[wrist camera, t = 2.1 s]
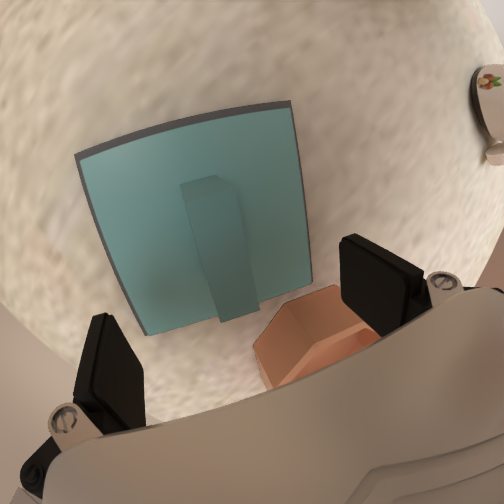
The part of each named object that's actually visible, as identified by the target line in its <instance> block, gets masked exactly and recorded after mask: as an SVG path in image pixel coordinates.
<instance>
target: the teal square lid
mask: <svg viewBox="0 0 504 504" xmlns="http://www.w3.org/2000/svg"><path fill="white" fill-rule="evenodd" d="M80 164H81V168H82V172H83V175H84V179H85V182H86V185H87V189H88V192H89V195H90V199H91V202H92V205H93V208H94V211H95V214H96V217H97V220H98V222H99V225H100V228H101V231H102V233H103V236H104V239H105V241H106V244H107V247H108V249H109V252H110V254H111V257H112V259H113V262H114V264H115V266H116V269H117V271H118V273H119V276H120V278H121V280H122V283H123V285H124V287H125V289H126V291H127V294H128V296H129V298H130V300H131V302H132V304H133V306H134V308H135V310H136V312H137V314H138V316H139V318H140V320H141V322H142V324H143V326H144V328H145V330H146V332H147V334H148V336H151V335H155V334H159V333H162V332H166V331H169V330H173V329H176V328H179V327H183V326H186V325H190V324H193V323H196V322H199V321H203V320H206V319H209V318H212V317H216V316H219V319H220V322H221V323H222V322H225V321H228V320H231V319H234V318H237V317H241V316H244V315H247V314H249V313H252V312H255V311H258V310H260V307H259V302H261V301H264V300H267V299H270V298H273V297H276V296H279V295H282V294H284V293H287V292H290V291H293V290H296V289H298V288H301V287H304V286H307V285H309V284H312V282H311V269H310V258H309V247H308V236H307V226H306V217H305V208H304V200H303V192H302V184H301V176H300V169H299V162H298V155H297V148H296V141H295V135H294V129H293V123H292V117H291V111H290V108H283V109H275V110H267V111H260V112H254V113H247V114H241V115H236V116H230V117H225V118H220V119H215V120H210V121H206V122H201V123H197V124H193V125H188V126H184V127H180V128H176V129H173V130H169V131H165V132H162V133H158V134H155V135H151V136H148V137H145V138H141V139H138V140H135V141H132V142H129V143H126V144H123V145H120V146H117V147H114V148H111V149H109V150H106V151H103V152H101V153H98V154H95V155H93V156H90V157H88V158H85V159H83V160H80Z"/></svg>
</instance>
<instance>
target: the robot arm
mask: <svg viewBox="0 0 504 504" xmlns="http://www.w3.org/2000/svg"><path fill="white" fill-rule="evenodd" d="M339 255H340V282H341V299H342V301H343V302H344V304H345V305H347V306H348V307H349V308H350V309H351V310H352V311H353V312H354V313H355V314H357V315H358V316H359V317H360V318H361V319H362V320H363V321H364V322H365V323H366V324H367V325H369V326H370V327H371V328H372V329H373V330H374V331H375V332H376V333H377V334H378V335H379V336H380V337H382V338H380V339H378V340H377V341H375V342H373V343H371V344H369V345H367V346H366V347H364V348H362V349H360V350H358V351H356V352H354V353H352V354H350V355H348V356H346V357H344V358H342V359H340V360H338V361H336V362H334V363H332V364H330V365H328V366H325V367H323V368H321V369H319V370H317V371H314V372H312V373H310V374H308V375H305V376H303V377H301V378H298V379H296V380H294V381H291V382H289V383H286V384H284V385H281V386H279V387H276V388H274V389H271V390H268V391H266V392H263V393H260V394H258V395H255V396H252V397H249V398H246V399H243V400H240V401H238V402H235V403H231V404H228V405H225V406H222V407H219V408H216V409H212V410H209V411H205V412H202V413H198V414H195V415H191V416H187V417H183V418H179V419H175V420H171V421H167V422H163V423H159V424H155V425H150V426H146V418H145V400H144V372H143V368H142V365H141V363H140V362H139V360H138V358H137V357H136V355H135V353H134V352H133V350H132V348H131V347H130V345H129V343H128V341H127V340H126V338H125V336H124V334H123V333H122V331H121V329H120V327H119V325H118V323H117V322H116V320H115V318H114V316H113V315H109V314H108V313H106V312H105V313H102V314H99V315H95V316H93V317H92V320H91V323H90V327H89V330H88V334H87V337H86V341H85V344H84V348H83V352H82V356H81V360H80V364H79V368H78V373H77V377H76V382H75V387H74V392H73V396H74V398H73V403H64V404H61V405H59V406H58V407H56V409H55V410H54V411H53V412H52V413H51V415H50V417H49V420H48V429H49V432H50V433H51V435H52V436H51V437H50V438H49V439H48V440H47V441H46V442H45V443H44V444H43V445H42V446H41V447H40V448H39V449H38V450H37V451H36V452H35V453H34V454H33V455H32V456H31V457H30V458H29V459H28V460H27V461H26V462H25V463H24V465H23V466H22V468H21V471H20V480H21V483H22V486H23V488H22V489H21V488H20V487H18V488H17V490H16V493H15V495H14V497H13V499H12V501H11V503H10V504H504V292H503V291H502V290H501V289H499V288H480V287H463V286H462V284H461V281H460V280H459V278H458V277H456V276H455V275H453V274H451V273H448V272H443V271H438V272H433V273H431V274H430V275H428V277H427V280H425V279H424V278H423V275H424V271H423V270H422V269H420V268H418V267H416V266H415V265H413V264H411V263H409V262H408V261H406V260H404V259H402V258H401V257H399V256H397V255H395V254H393V253H392V252H390V251H388V250H386V249H384V248H382V247H380V246H379V245H377V244H375V243H373V242H371V241H369V240H367V239H365V238H364V237H362V236H360V235H358V234H355V233H354V234H351V235H348V236H345V237H343V238H342V240H341V242H340V243H339Z"/></svg>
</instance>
